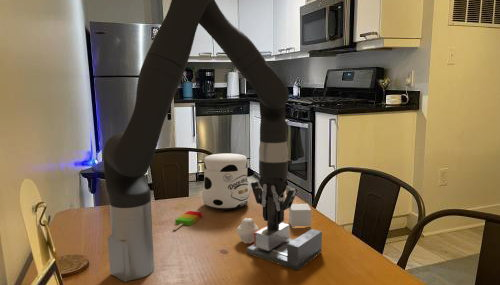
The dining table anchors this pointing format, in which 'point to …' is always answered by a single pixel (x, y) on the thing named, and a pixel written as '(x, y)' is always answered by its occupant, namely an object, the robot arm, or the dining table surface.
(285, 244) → the jaw track
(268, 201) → the sliding jaw
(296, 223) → the white cube
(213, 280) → the dining table surface
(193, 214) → the popsicle
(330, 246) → the dining table surface
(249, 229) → the white rounded ridged piece
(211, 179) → the milk container
